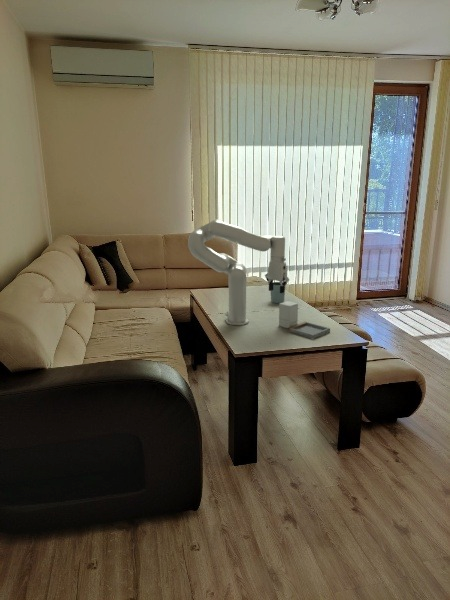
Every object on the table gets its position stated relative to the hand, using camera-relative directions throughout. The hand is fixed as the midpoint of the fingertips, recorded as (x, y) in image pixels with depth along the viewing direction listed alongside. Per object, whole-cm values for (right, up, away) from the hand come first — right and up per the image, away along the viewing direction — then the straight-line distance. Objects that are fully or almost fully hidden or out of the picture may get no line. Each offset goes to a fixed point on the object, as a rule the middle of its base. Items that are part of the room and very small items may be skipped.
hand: (276, 291), depth 235 cm
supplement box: (+6, -19, -1) cm, 20 cm away
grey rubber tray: (+16, -21, -11) cm, 29 cm away
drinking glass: (+6, -6, +47) cm, 48 cm away
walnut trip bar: (+11, -20, -6) cm, 23 cm away
